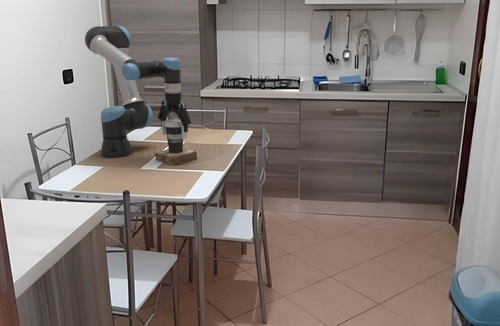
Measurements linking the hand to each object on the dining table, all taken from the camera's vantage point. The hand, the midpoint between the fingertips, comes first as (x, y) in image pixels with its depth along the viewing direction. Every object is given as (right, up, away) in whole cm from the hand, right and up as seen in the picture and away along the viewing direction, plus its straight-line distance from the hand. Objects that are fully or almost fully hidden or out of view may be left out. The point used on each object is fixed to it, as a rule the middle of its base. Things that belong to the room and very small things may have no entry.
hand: (174, 136), depth 233 cm
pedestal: (0, -11, +3) cm, 12 cm away
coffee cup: (0, -7, +2) cm, 8 cm away
